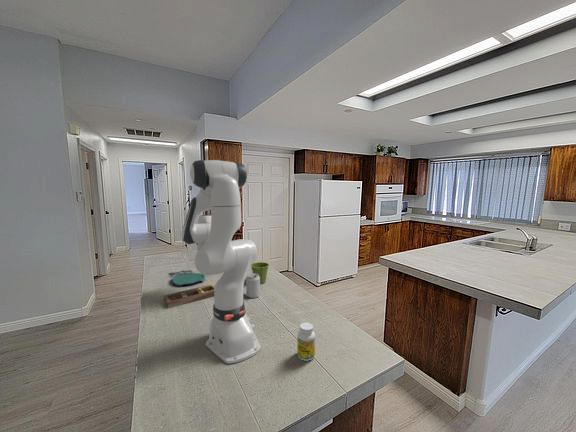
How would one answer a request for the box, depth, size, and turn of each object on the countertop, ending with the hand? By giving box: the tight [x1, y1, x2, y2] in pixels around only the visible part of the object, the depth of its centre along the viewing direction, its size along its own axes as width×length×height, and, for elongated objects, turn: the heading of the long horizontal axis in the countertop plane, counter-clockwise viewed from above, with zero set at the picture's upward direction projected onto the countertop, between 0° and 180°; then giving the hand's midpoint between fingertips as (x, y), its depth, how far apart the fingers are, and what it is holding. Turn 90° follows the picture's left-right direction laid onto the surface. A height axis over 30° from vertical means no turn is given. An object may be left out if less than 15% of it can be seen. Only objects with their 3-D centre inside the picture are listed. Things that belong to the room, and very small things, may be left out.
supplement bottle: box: [296, 322, 316, 362], centre depth 87 cm, size 6×6×11 cm
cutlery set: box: [168, 269, 206, 287], centre depth 160 cm, size 20×30×2 cm, turn 36°
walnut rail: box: [163, 283, 215, 309], centre depth 133 cm, size 11×26×3 cm, turn 127°
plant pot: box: [250, 261, 270, 284], centre depth 155 cm, size 12×12×11 cm
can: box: [245, 272, 261, 299], centre depth 135 cm, size 8×8×12 cm
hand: (206, 268), depth 136 cm, fingers closed on steel block, 5 cm apart
